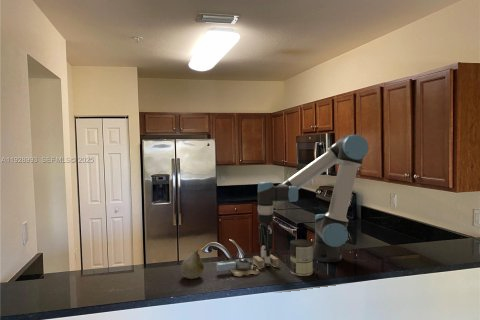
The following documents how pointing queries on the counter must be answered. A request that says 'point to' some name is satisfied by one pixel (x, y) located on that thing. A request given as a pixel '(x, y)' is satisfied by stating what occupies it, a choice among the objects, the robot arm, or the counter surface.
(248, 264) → the grey metal pan
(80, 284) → the counter surface
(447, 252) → the counter surface
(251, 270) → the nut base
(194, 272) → the fruit
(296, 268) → the coffee can
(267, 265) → the pin
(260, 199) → the robot arm
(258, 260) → the slot rails
